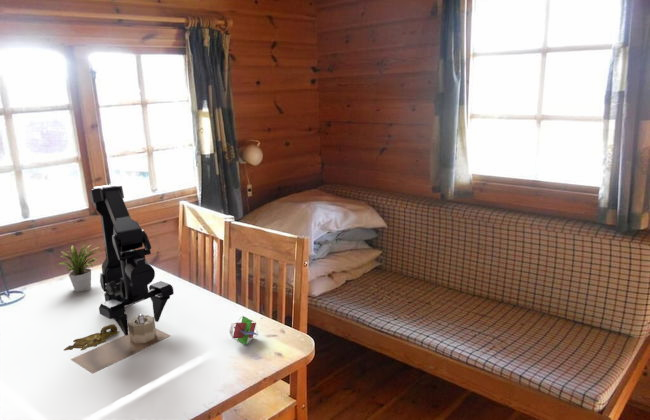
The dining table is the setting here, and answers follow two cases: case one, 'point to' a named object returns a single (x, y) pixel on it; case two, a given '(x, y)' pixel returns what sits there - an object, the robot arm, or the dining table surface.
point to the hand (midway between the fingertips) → (141, 328)
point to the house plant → (80, 268)
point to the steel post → (140, 319)
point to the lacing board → (114, 352)
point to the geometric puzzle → (243, 330)
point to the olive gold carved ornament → (94, 338)
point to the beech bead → (142, 330)
